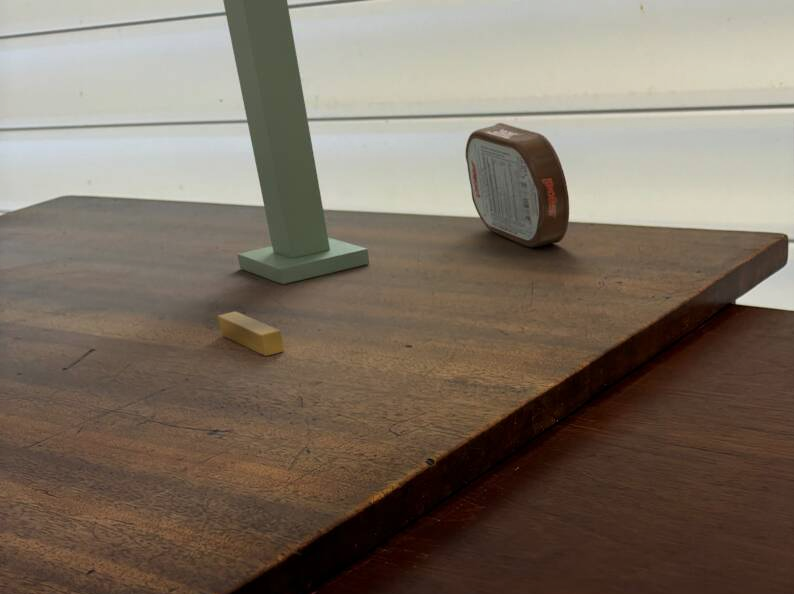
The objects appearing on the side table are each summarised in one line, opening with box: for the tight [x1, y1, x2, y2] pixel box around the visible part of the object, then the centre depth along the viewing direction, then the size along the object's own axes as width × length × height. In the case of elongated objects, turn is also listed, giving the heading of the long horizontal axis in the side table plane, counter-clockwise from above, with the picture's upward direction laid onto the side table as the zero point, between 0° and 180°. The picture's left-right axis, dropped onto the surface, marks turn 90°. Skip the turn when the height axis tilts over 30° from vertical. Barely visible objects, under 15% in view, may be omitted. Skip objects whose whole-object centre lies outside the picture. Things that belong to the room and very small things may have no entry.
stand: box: [222, 0, 370, 285], centre depth 88 cm, size 15×8×31 cm, turn 37°
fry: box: [217, 310, 285, 357], centre depth 80 cm, size 7×1×1 cm, turn 37°
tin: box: [465, 122, 570, 248], centre depth 98 cm, size 15×3×8 cm, turn 27°
